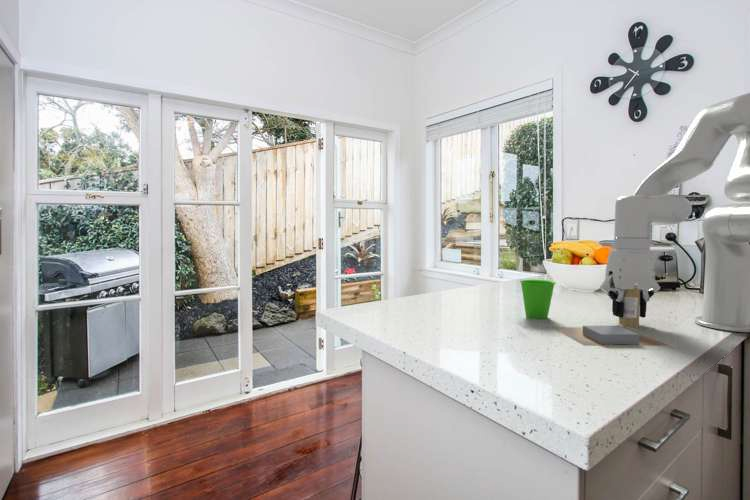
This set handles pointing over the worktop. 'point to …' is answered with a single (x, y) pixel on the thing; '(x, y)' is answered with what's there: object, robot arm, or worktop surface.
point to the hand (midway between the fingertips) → (628, 315)
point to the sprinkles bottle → (631, 307)
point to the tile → (611, 334)
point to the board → (578, 336)
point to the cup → (537, 297)
